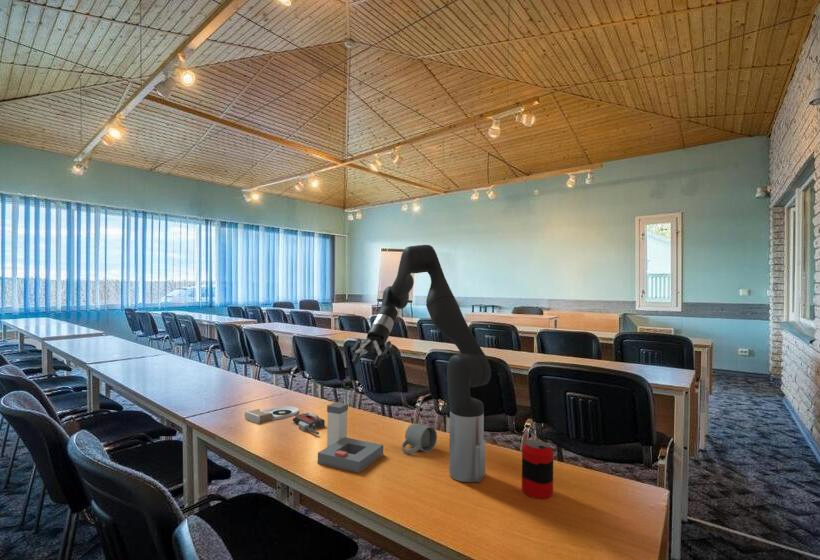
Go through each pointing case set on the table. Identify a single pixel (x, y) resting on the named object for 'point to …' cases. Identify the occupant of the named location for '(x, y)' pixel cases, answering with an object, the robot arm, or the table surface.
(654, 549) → the table surface
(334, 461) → the socket
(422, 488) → the table surface
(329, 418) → the plug
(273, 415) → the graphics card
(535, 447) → the soda can
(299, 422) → the walkie-talkie
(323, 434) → the table surface
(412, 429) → the ceramic mug
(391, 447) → the table surface
